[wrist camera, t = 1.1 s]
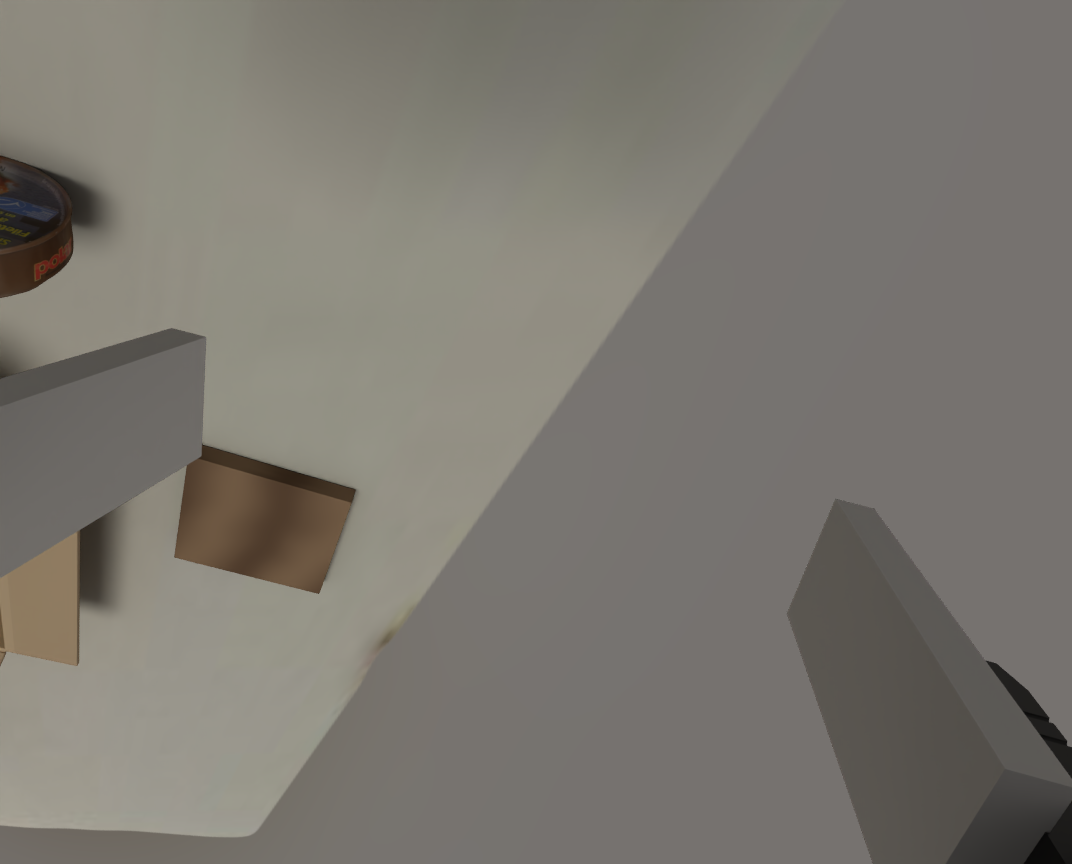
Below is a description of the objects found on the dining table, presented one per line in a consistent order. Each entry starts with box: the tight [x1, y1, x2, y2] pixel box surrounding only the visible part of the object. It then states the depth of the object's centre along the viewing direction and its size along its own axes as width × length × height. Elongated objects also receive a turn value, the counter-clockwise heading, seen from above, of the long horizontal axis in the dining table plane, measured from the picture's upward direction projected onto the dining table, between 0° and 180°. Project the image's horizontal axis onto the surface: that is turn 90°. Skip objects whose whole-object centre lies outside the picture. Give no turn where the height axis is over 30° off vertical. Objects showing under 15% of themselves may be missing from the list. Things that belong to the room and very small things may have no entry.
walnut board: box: [174, 445, 355, 594], centre depth 45 cm, size 10×10×1 cm
